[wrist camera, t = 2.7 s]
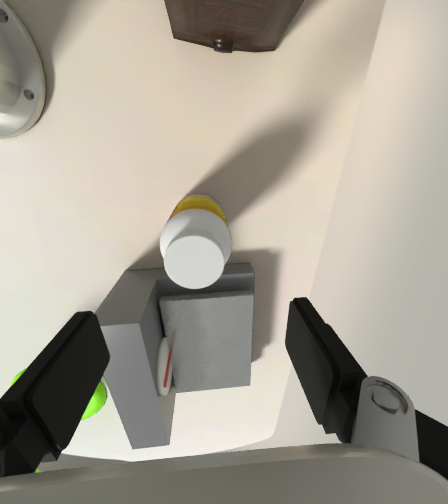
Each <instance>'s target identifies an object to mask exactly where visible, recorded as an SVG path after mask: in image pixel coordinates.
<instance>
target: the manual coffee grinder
mask: <svg viewBox="0 0 448 504" xmlns="http://www.w3.org/2000/svg"><path fill="white" fill-rule="evenodd" d="M164 1H165V5H166V9H167V13H168V17H169V20H170V25H171V29H172V33H173V37H174V39H179V40H183V41H187V42H191V43H195V44H199V45H203V46H207V47H211V48H214V51H218V52H222V53H232V51H235V50H236V51H246V52H267V51H275V49H276V45H277V43H278V41H279V40H280V38H281V36H282V35H283V33H284V32H285V30H286V28H287V27H288V25H289V24H290V22H291V21H292V19H293V17H294V16H295V14H296V13H297V11H298V9H299V8H300V6H301V5H302V3H303V1H304V0H164Z"/></svg>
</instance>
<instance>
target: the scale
mask: <svg viewBox="0 0 448 504" xmlns="http://www.w3.org/2000/svg"><path fill="white" fill-rule="evenodd" d="M243 290H252V292H253V294H254V271H253V269H252V266H251V264H250V263H239V264H225V265H224V270H223V272H222V274H221V276H220V277H219V278H218V280H216V281H215V282H214V283H213V284H211V285H209V286H207V287H204V288H199V289H190V288H185V287H182V286H180V285H178V284H177V283H175V282H174V281H173V280H172V279H171V278H170V277H169V276H168V274H167V272H166V270H165V268H159V269H143V270H126V271H124V273H123V274H122V276H121V277H120V279H119V280H118V281H117V283H116V284H115V286H114V287H113V288H112V290H111V291H110V293H109V294H108V295H107V297H106V298H105V300H104V301H103V302H102V304H101V305H100V307H99V308H98V310H97V311H96V312H95V314H96V315H97V318H98V321H99V324H100V327H101V329H102V332H103V335H104V338H105V341H106V344H107V347H108V350H109V353H110V361H109V364H108V366H107V368H106V370H105V372H104V374H103V375H104V378H105V380H106V383H107V385H108V388H109V390H110V393H111V396H112V398H113V401H114V403H115V406H116V408H117V411H118V413H119V416H120V418H121V421H122V424H123V426H124V429H125V431H126V434H127V436H128V439H129V441H130V444H131V446H132V449H139V448H148V447H156V446H165V445H169V444H170V436H171V428H172V420H173V412H174V403H175V395H176V388H175V383H174V377H173V372H172V363H171V357H172V352H169V347H168V342H167V338H166V335H165V330H164V324H163V319H162V314H161V308H160V303H159V301H160V298H161V296H172V295H186V294H200V293H214V292H228V291H243Z"/></svg>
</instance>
